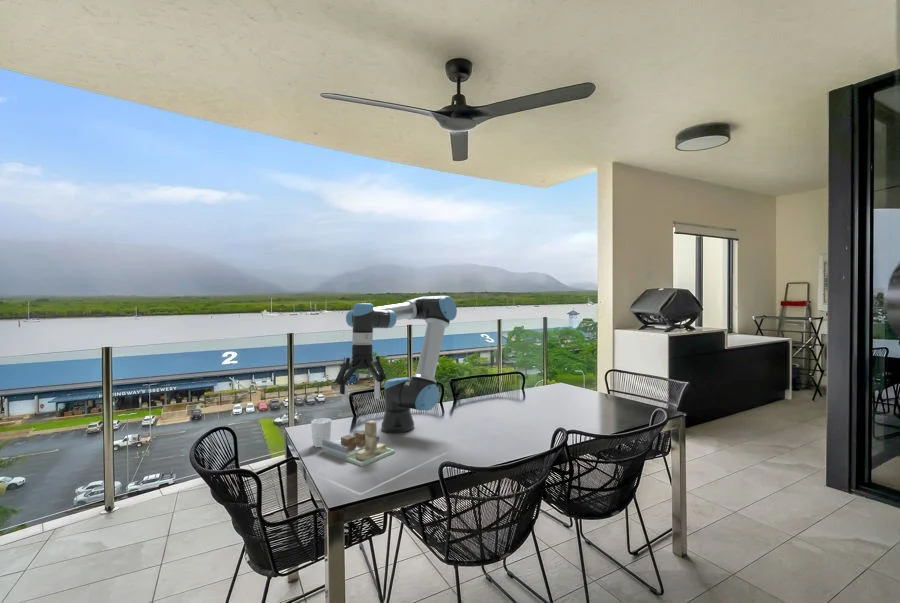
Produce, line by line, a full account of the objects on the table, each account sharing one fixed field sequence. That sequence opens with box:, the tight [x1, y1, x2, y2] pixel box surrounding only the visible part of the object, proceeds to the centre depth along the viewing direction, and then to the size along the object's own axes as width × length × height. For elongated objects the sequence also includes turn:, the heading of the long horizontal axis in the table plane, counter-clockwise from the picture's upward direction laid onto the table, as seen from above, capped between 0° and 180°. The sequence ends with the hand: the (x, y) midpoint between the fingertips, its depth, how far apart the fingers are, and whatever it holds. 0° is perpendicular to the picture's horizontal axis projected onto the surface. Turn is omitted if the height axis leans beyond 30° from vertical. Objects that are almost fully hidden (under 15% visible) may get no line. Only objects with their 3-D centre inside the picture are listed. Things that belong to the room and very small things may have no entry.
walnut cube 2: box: [356, 429, 365, 445], centre depth 156 cm, size 4×4×4 cm
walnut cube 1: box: [340, 434, 356, 450], centre depth 151 cm, size 4×4×4 cm
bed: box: [321, 429, 380, 461], centre depth 155 cm, size 16×15×5 cm
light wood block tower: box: [356, 419, 387, 462], centre depth 148 cm, size 12×3×13 cm, turn 142°
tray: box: [345, 446, 396, 467], centre depth 148 cm, size 16×9×2 cm, turn 142°
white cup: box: [310, 417, 332, 448], centre depth 162 cm, size 8×8×10 cm
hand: (361, 400), depth 147 cm, fingers open, 13 cm apart
